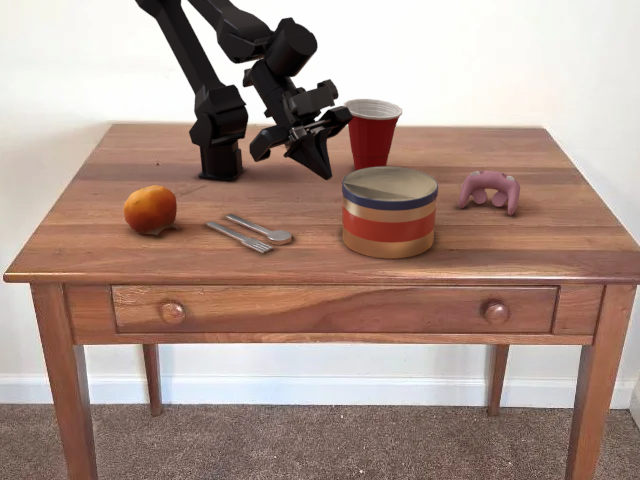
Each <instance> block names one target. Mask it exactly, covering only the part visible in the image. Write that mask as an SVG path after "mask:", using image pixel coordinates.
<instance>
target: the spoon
mask: <svg viewBox="0 0 640 480" xmlns="http://www.w3.org/2000/svg"><path fill="white" fill-rule="evenodd" d="M225 219H226V220H228V221H230V222H233V223H235V224H237V225H240V226H242V227H244V228H246V229H249V230H250V231H253V232H255V233H258V234H260V235H262V236H265V237H267V242H268V243H270V244H272V245H276V246H277V245H278V246H281V245H287V244H289V243H290V242H291V241H292V232H290V231H288V230H284V229H278V230H277V229H276V230H270V229H267V228H265V227H263V226H260V225H259V224H256V223H254V222H251V221H249V220H247V219H244V218H242V217H240V216H237V215H235V214H233V213H230V214H227V215H225Z"/></svg>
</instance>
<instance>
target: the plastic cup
mask: <svg viewBox="0 0 640 480" xmlns="http://www.w3.org/2000/svg"><path fill="white" fill-rule="evenodd" d="M342 106H345V107H348V109H349V111H350V112H351V114H352V116H353V119H352V120H351V121H350V122H349V123H348V124H347V128H348V137H349V142H350V149H351V154H352V160H353V167H354V171H356V170H359V169H363V168H369V167H378V166H388V165H387V164H388V159H389V155H390V152H391V148H392V143H393V139H394V134H395V129H396V127H397V124H398V122H399V119H400V117H401V116H402V115H403V108H401V107H400V105H397V104H395V103H392V102H390V101H385V100H380V99H373V98H355V99H349V100H347V101H344V103H343V105H342Z"/></svg>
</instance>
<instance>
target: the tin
mask: <svg viewBox="0 0 640 480" xmlns="http://www.w3.org/2000/svg"><path fill="white" fill-rule="evenodd" d="M438 194H439V183H438V180H437V179H436V178H434V177H433V176H432V175H430V174H429V173H426V172H424V171H421V170H418V169H415V168H410V167H405V166H404V167H403V166H392V165H386V166H378V167H369V168H363V169H359V170H354V171H351V172H349V173H347V174H346V175H345V176H344V177H343V179H342V180H341V195H342V206H341V208H342V215H341V217H342V219H341V221H342V241H343V243H344V245H345V246H346V247H347V248H348V249H350V250H352V251H353V252H355V253H357V254H360V255H363V256H367V257H370V258H375V259H376V258H377V259H386V260H387V259H392V260H393V259H404V258H410V257H414V256H417V255H420V254H422V253H424V252H426V251H427V250H429V249H430V248H431V247H432V245H433V243H434V236H435V235H434V234H435V226H436V213H437V198H438Z"/></svg>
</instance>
